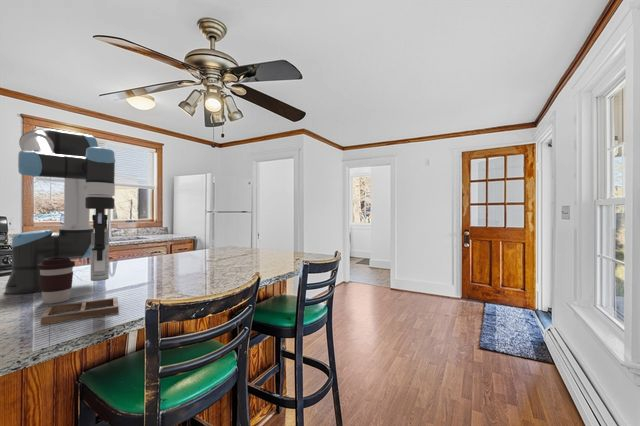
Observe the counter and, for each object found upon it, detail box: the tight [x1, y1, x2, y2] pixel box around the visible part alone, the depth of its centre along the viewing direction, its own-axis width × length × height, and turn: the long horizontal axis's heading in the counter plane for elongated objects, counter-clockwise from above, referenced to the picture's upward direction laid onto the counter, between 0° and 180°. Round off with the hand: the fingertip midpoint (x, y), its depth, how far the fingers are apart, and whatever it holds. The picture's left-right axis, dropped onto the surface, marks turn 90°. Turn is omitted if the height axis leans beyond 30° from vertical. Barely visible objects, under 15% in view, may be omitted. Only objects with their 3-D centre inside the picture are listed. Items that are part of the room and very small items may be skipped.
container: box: [90, 231, 110, 282], centre depth 96 cm, size 5×5×15 cm
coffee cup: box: [37, 257, 76, 305], centre depth 105 cm, size 10×10×15 cm
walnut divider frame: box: [40, 296, 119, 326], centre depth 94 cm, size 12×18×2 cm, turn 125°
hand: (99, 269), depth 96 cm, fingers closed on container, 5 cm apart
